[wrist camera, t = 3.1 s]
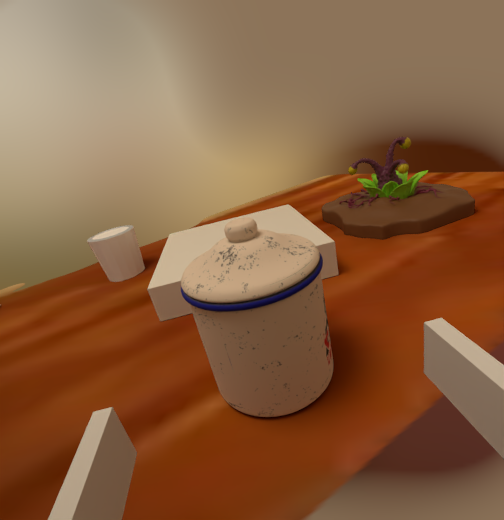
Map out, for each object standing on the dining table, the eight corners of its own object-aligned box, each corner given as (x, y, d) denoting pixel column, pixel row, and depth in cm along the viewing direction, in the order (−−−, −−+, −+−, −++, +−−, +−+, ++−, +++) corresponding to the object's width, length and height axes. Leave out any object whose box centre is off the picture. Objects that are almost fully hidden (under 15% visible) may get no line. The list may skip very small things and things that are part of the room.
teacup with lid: (366, 381, 20) (350, 210, 16) (239, 451, 18) (177, 271, 13) (282, 305, 31) (258, 190, 26) (195, 342, 28) (152, 221, 24)
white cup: (131, 262, 54) (116, 224, 51) (157, 264, 50) (142, 223, 47) (96, 281, 49) (77, 241, 46) (122, 285, 45) (103, 241, 42)
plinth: (160, 321, 33) (147, 289, 31) (177, 256, 51) (169, 233, 50) (338, 274, 34) (334, 241, 32) (292, 227, 52) (288, 204, 51)
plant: (508, 213, 40) (518, 120, 36) (364, 250, 39) (357, 160, 35) (412, 190, 58) (411, 126, 54) (313, 215, 57) (304, 152, 53)
